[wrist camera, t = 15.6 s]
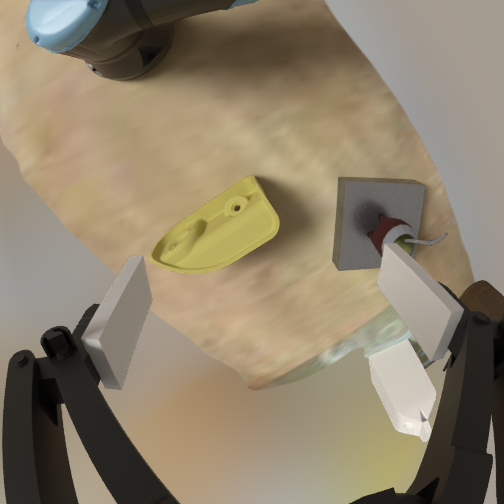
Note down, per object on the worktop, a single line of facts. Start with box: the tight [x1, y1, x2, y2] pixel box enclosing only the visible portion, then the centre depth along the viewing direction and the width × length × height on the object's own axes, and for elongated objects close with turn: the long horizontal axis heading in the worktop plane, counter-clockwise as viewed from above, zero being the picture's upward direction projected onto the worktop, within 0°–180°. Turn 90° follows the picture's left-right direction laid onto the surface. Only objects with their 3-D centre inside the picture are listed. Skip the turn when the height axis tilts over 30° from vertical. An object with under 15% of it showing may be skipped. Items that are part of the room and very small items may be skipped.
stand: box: [332, 177, 426, 271], centre depth 50 cm, size 16×16×4 cm
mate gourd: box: [367, 213, 448, 257], centre depth 42 cm, size 8×8×15 cm
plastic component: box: [149, 175, 280, 274], centre depth 46 cm, size 20×7×10 cm, turn 123°
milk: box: [369, 339, 436, 442], centre depth 58 cm, size 12×12×26 cm
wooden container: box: [460, 280, 504, 321], centre depth 55 cm, size 15×15×22 cm
